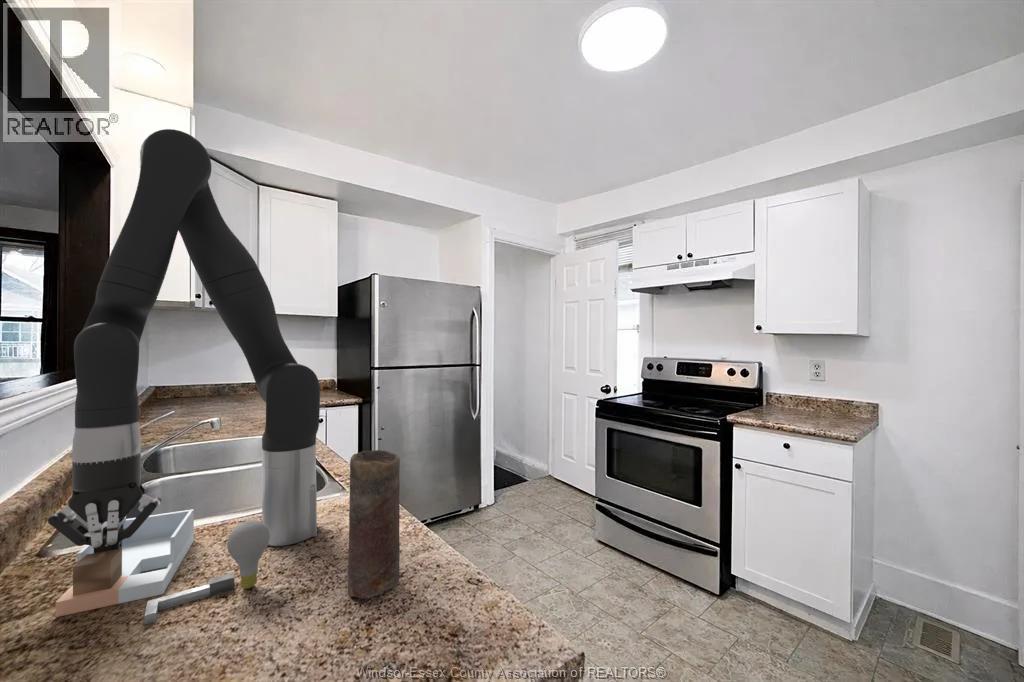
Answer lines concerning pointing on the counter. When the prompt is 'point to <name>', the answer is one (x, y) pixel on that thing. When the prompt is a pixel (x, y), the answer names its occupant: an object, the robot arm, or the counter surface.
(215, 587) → the hook tool
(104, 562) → the walnut cube
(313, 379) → the robot arm
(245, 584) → the light bulb
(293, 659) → the counter surface
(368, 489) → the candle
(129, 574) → the cubby
